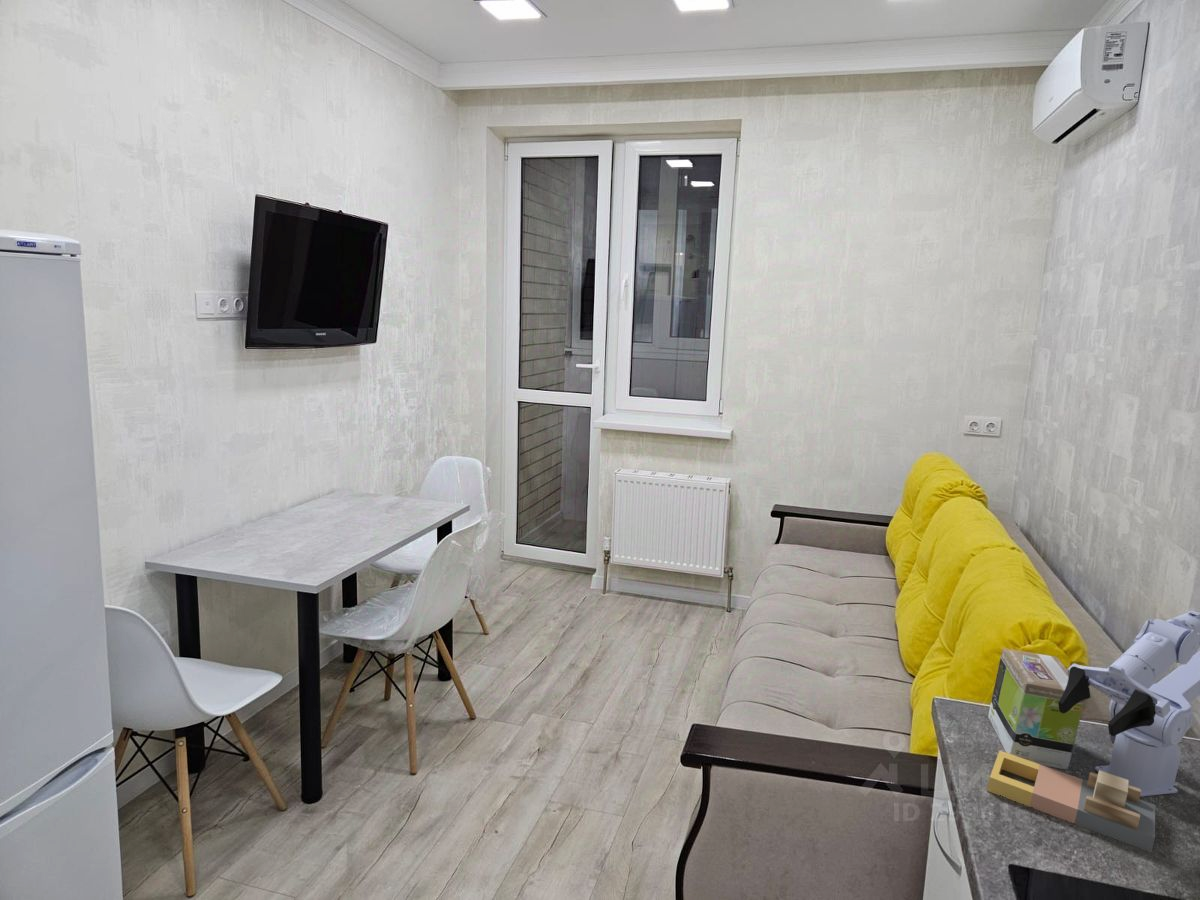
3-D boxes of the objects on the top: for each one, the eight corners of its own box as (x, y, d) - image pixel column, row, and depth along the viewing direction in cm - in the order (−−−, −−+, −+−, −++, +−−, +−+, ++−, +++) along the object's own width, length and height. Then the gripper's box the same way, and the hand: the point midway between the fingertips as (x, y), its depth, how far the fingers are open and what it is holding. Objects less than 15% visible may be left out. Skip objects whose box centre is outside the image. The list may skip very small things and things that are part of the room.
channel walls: (1138, 800, 129) (1141, 789, 129) (1137, 829, 122) (1140, 817, 121) (1087, 782, 133) (1090, 771, 132) (1083, 809, 125) (1086, 798, 125)
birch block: (1122, 802, 128) (1128, 780, 127) (1122, 815, 125) (1127, 792, 124) (1093, 792, 130) (1098, 770, 129) (1092, 804, 127) (1097, 781, 126)
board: (1151, 818, 129) (1155, 804, 128) (1151, 852, 120) (1155, 837, 120) (996, 763, 141) (999, 750, 140) (987, 790, 132) (989, 777, 132)
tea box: (1070, 771, 140) (1088, 693, 137) (1008, 760, 142) (1024, 683, 139) (1042, 726, 154) (1058, 654, 151) (986, 716, 156) (1000, 645, 153)
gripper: (1087, 634, 135) (1037, 678, 129) (1184, 668, 122) (1132, 720, 117) (1092, 667, 137) (1042, 713, 132) (1187, 705, 125) (1136, 757, 119)
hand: (1085, 718), depth 125 cm, fingers open, 7 cm apart
